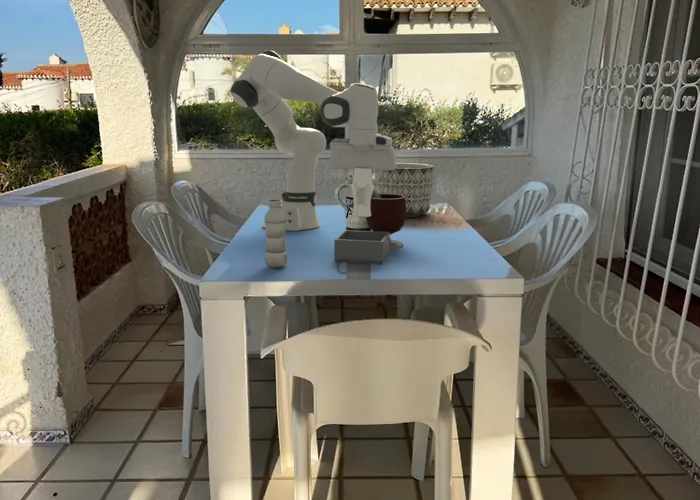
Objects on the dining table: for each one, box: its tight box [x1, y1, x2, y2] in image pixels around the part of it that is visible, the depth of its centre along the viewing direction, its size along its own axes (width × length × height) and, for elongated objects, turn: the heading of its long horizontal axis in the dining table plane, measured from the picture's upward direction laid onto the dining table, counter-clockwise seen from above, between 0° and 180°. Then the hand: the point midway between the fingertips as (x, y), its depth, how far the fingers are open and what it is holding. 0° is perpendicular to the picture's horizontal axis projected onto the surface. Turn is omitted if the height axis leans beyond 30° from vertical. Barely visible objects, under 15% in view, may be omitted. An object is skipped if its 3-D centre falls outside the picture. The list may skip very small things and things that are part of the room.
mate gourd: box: [365, 188, 407, 250], centre depth 199 cm, size 16×14×20 cm
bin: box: [333, 229, 391, 265], centre depth 184 cm, size 15×15×7 cm
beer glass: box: [351, 167, 375, 218], centre depth 179 cm, size 7×7×15 cm
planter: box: [374, 162, 435, 219], centre depth 258 cm, size 26×26×22 cm
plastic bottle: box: [263, 198, 289, 269], centre depth 170 cm, size 6×7×20 cm
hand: (362, 184), depth 179 cm, fingers closed on beer glass, 7 cm apart
